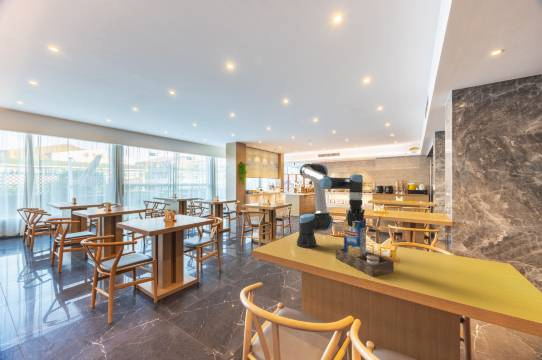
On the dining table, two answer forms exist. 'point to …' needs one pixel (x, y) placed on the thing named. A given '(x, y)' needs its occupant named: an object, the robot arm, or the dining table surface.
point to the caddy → (366, 263)
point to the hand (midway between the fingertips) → (355, 237)
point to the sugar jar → (372, 259)
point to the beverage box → (355, 238)
